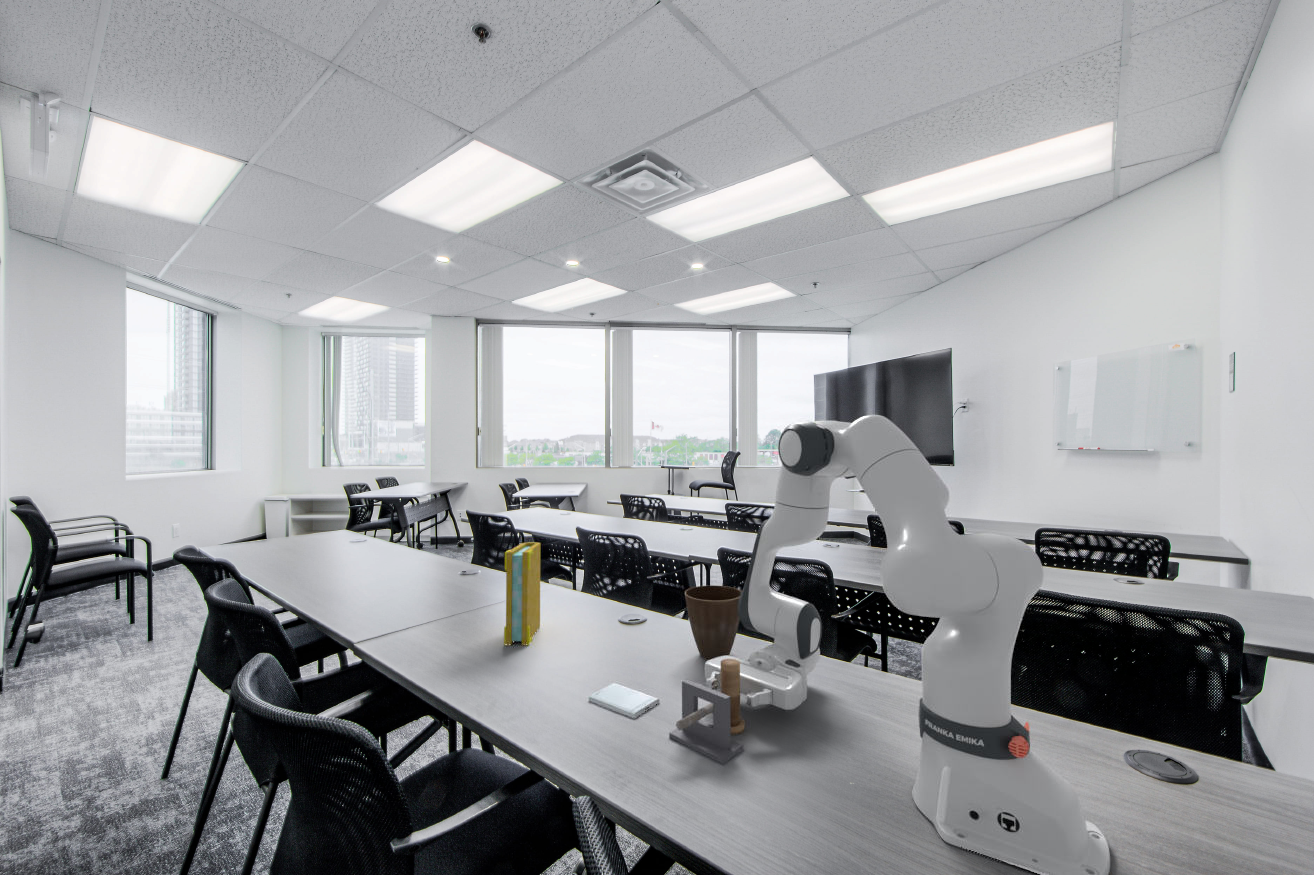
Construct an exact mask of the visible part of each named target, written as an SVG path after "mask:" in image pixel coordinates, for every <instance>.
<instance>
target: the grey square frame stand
mask: <svg viewBox="0 0 1314 875" xmlns="http://www.w3.org/2000/svg"><path fill="white" fill-rule="evenodd" d="M699 699H701V700H703V701H705V702H708V703H713V712H712V714H713V715H712V720H713V721H712V722H713V723H712V724H711V723H709V722H708V721H705V720H703V719H702V718H701V719H700V720H698V721H696V722H694V723H693V724H691V725H689V726H687V727H686V728H684V729H682V730H678V728H677V727H676V728H675V729H674V730H671V731H670V732H668V733H669V734H668V736H669V737H668V738H670V739H672V740H674V741H676V742H678V743H680V744H682V745H684V746H685V747H688V748H690V749H692V750H694V751H696V752H698V753H699V754H701V755H703V756H705V757H707V758H709V759H711V758H712V760H713V761H715V762H717V763H719V764H722V765H724V764H725V763H726V762H729V760H731V759H732V758H734V757H735V756H737V755H738V754H739V753H741V752H742V751H744V748H745V747H744V744H742V743H740V742H738V741H737V740H734V739H732V737H731V736H732V735H731V725H730V696H728V695H725V694H723V693H721V691H717V690H716V689H715V690H713V689H710V688H707V687H706V685H705V686H704V685H702V684H699V683H697V682H694V681H691V680H689V679H684V680H682V681H681V719H683V718H685V717H687V716H688V715H690V714H692V713H694V712H696V711H697V710H699Z"/></svg>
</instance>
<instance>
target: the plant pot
mask: <svg viewBox="0 0 1314 875" xmlns="http://www.w3.org/2000/svg"><path fill="white" fill-rule="evenodd" d="M742 591H743V590H741V589H739V588H736V587H731V586H726V585H725V586H724V585H700V586H699V585H698V586H693V587H691V588H688V589H686V590H685V591H684V598H685V603H686V610H687V615H688V620H689V625H690V628H691V632H692V636H693V638H694V642H695V645H696V647H697V648H696V649H697V650H698V653H699V655H700V656H699V657H701V658H703V659H705V660H707V661H708V660H711V659H714V658H717V657H720V656H725V655H729V656H731V655H730V654H731V651H732V648H733V645H734V643H735V640H736V635H737V632H738V629H739V624H740V621H741V620H740V618H739V615H738V611H737V605H738V601H739V598H740V595H741V593H742Z"/></svg>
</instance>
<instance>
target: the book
mask: <svg viewBox="0 0 1314 875" xmlns="http://www.w3.org/2000/svg"><path fill="white" fill-rule="evenodd" d="M504 571H505V572H506V573H505V574H506V576H505V577H506V578H505V580H506V582H505V584H506V586H505V587H506V588H505V589H506V590H505V592H506V593H505V594H506V595H505V597H506V598H505V601H506V602H505V606H506V607H505V626H504V628H503V646H512V645H513V644H514V643H513V641H514V642H521V646H530V645H529V643H530V642H531V641H532V642H533V638H534V637H533V635H534V634H535V632H536V631H537V629H538V628H539V627H540V628H541V542H536V541H535V542H531V541H530V542H528V541H527V542H522V543H519V544H518V545H517V546H515V547H513V548H512V549H508V550H506V551H505V552H504ZM540 628H539V629H540ZM537 632H538V631H537ZM535 635H536V634H535ZM535 635H534V636H535ZM532 637H533V638H532ZM532 642H531V643H532ZM512 643H513V644H512ZM531 643H530V644H531ZM505 644H507V645H505ZM509 644H510V645H509ZM511 644H512V645H511ZM523 644H525V645H523ZM526 644H527V645H526Z"/></svg>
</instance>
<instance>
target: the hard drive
mask: <svg viewBox="0 0 1314 875" xmlns="http://www.w3.org/2000/svg"><path fill="white" fill-rule="evenodd" d="M588 701H589V702H590V701H591V703H593V704H595V703H596V704H595V705H597V706H601V707H603V708H606V709H608V710H611V711H614V712H616V713H619V714H621V715H624V716H626V715H627V717H629V718H631V717H632V719H634V718H635V719H636V718H638V717H640V716H641V715H643V714H644V713H646V712H648V711H649V710H650V708H651V709H652V708H654V707H655V706H657V705H659V704H660V703H661V702H660V698H659V697H655V696H652V695H648V694H646V693H644V692H640V691H639V690H634V689H632V688H630V687H626V686H623V685H620V684H618V683H614V682H613V683H611V684H608V686H605V687H602V689H599V690H597V691H596V692H594V693H591V694H590V695H589V696H588ZM658 703H659V704H658ZM656 704H657V705H656ZM653 706H654V707H653ZM648 709H649V710H648ZM647 710H648V711H647ZM645 711H646V712H645ZM642 713H643V714H642ZM639 715H640V716H639Z"/></svg>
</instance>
